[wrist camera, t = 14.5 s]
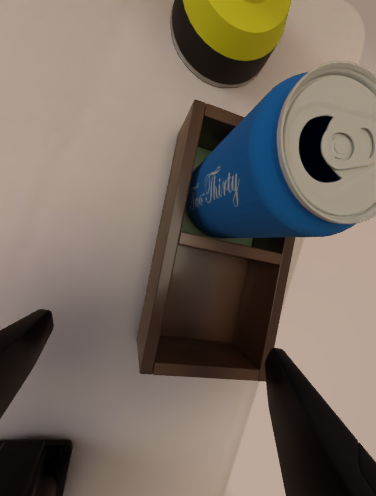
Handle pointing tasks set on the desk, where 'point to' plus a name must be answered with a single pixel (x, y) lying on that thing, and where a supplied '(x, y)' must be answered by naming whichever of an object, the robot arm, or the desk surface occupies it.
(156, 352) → the wooden divided tray
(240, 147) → the beverage can
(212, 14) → the flashlight
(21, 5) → the desk surface
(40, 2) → the desk surface
